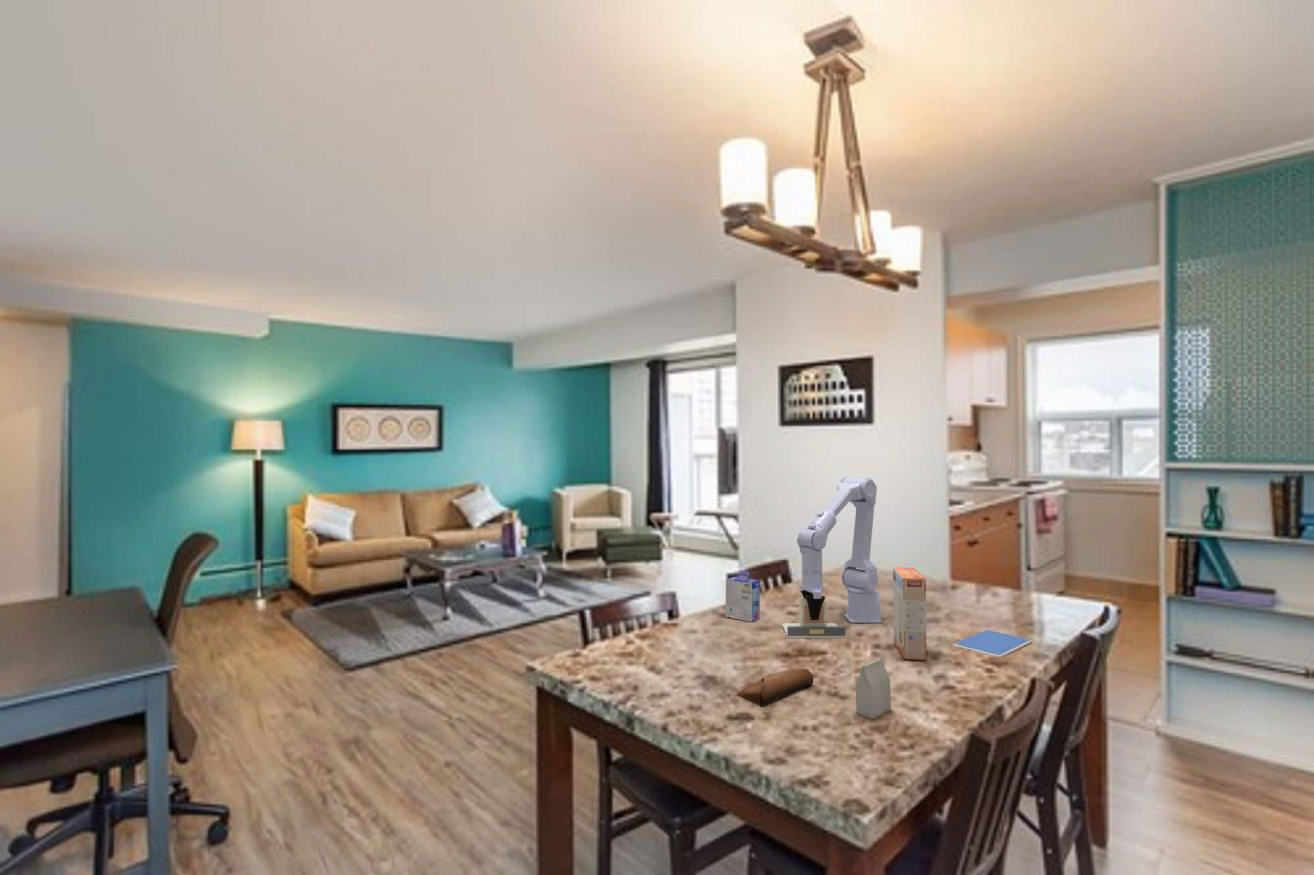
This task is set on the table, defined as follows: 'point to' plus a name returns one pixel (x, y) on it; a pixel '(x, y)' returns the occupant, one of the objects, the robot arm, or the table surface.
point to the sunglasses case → (776, 686)
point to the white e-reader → (814, 631)
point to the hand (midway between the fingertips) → (813, 617)
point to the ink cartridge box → (743, 598)
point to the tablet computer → (992, 643)
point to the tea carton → (805, 616)
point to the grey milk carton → (873, 690)
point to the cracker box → (909, 613)
